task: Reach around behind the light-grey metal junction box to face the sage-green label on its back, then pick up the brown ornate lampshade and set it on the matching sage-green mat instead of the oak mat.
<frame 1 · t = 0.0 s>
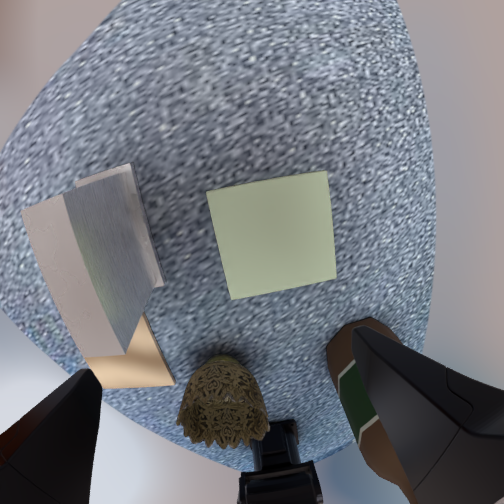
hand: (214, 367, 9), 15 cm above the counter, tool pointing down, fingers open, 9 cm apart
oak mat: (121, 353, 26), on the counter
junction box: (120, 231, 22), on the counter
brown ornate lampshade: (222, 363, 27), on the counter
beer bottle: (357, 344, 28), on the counter
sage mat: (276, 236, 23), on the counter
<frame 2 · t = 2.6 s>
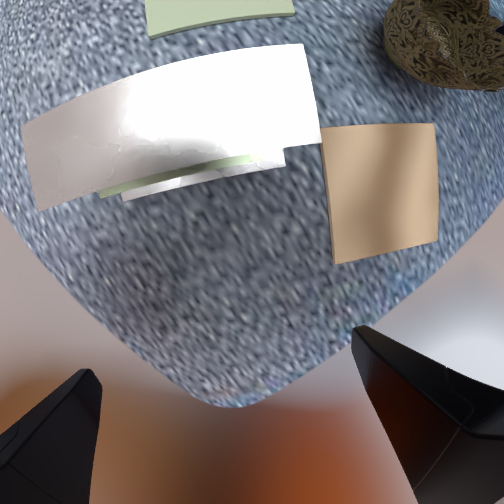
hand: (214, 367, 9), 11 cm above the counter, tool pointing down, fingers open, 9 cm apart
oak mat: (386, 188, 18), on the counter
junction box: (194, 140, 16), on the counter
brown ornate lampshade: (398, 52, 15), on the counter
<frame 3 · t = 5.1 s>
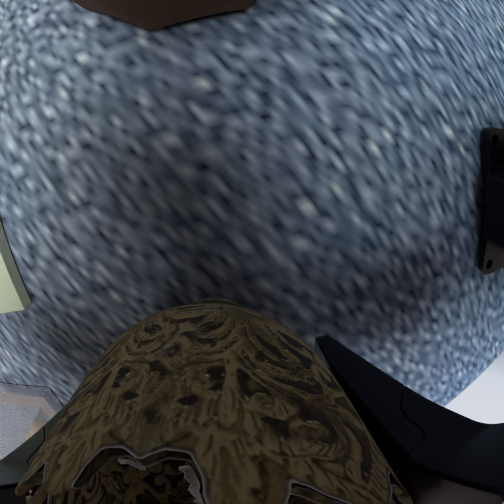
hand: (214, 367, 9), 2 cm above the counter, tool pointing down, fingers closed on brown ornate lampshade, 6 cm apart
junction box: (21, 409, 12), on the counter
brown ornate lampshade: (215, 329, 10), on the counter, touching gripper
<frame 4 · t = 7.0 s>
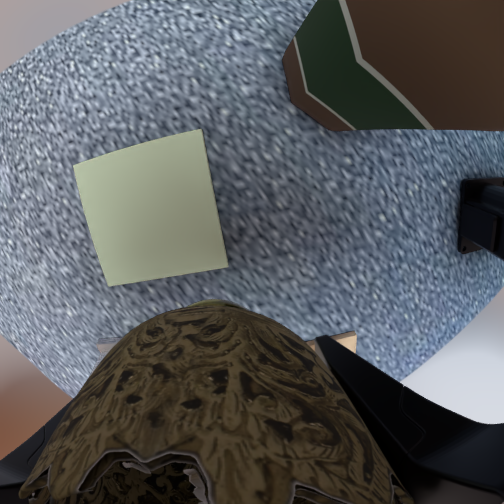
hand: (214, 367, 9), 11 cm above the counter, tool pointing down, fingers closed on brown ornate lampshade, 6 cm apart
oak mat: (305, 378, 24), on the counter
junction box: (159, 357, 23), on the counter
brown ornate lampshade: (216, 330, 10), point 9 cm above the counter, touching gripper
beer bottle: (336, 78, 16), on the counter
sage mat: (148, 212, 18), on the counter
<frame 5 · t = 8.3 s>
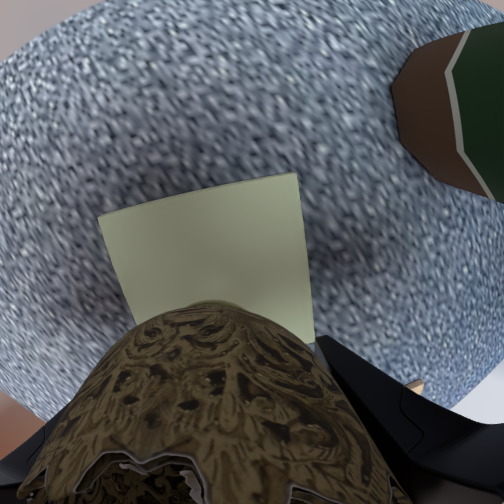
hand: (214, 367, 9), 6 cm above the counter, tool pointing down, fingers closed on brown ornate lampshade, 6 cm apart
brown ornate lampshade: (215, 331, 10), point 4 cm above the counter, touching gripper
beer bottle: (440, 113, 12), on the counter
sage mat: (214, 282, 14), on the counter
when the fingers open (4 cm above the counter, at t = 9.2 s): brown ornate lampshade drops 1 cm, resting on sage mat.
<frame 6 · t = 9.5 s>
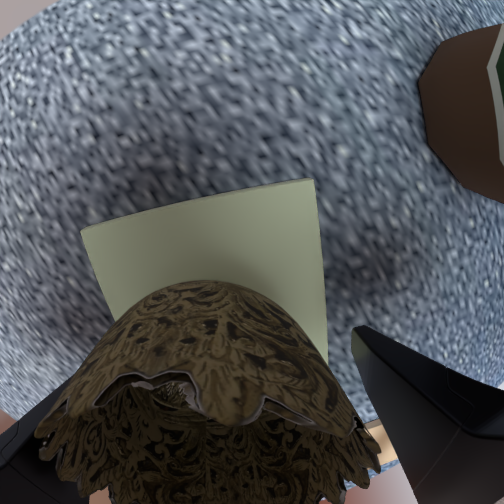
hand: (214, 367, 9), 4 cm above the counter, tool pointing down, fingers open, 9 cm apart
oak mat: (376, 444, 18), on the counter
brown ornate lampshade: (212, 311, 12), resting on sage mat
beer bottle: (467, 114, 10), on the counter
sage mat: (216, 304, 12), on the counter
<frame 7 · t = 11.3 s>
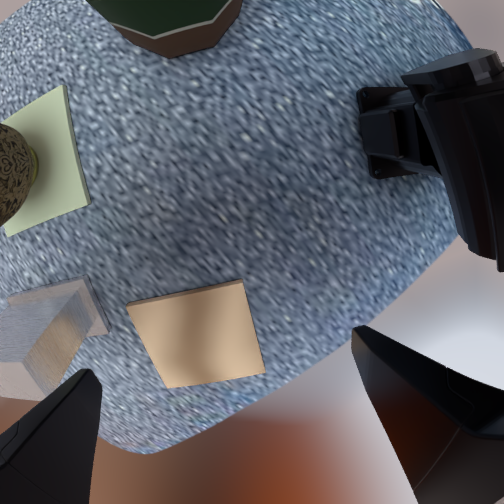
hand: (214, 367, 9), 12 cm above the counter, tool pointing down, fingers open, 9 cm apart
oak mat: (199, 339, 22), on the counter
junction box: (55, 311, 20), on the counter
brown ornate lampshade: (26, 166, 16), resting on sage mat
beer bottle: (182, 14, 14), on the counter
sage mat: (31, 164, 16), on the counter
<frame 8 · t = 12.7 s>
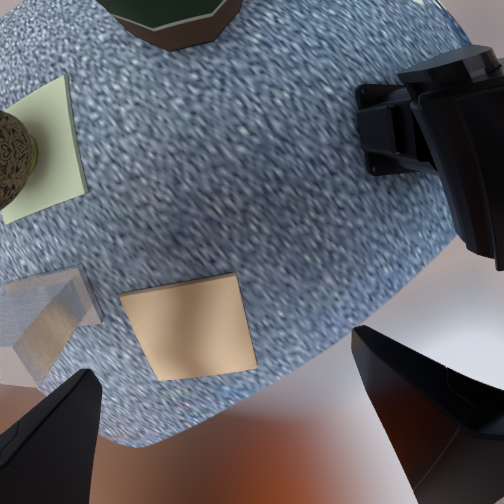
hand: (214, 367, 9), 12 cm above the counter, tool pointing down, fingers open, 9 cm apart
oak mat: (191, 332, 22), on the counter
junction box: (50, 299, 20), on the counter
brown ornate lampshade: (26, 154, 16), resting on sage mat
beer bottle: (184, 8, 14), on the counter
sage mat: (30, 153, 16), on the counter
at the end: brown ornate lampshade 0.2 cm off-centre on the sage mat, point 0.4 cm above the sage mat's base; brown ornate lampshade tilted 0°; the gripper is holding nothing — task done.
